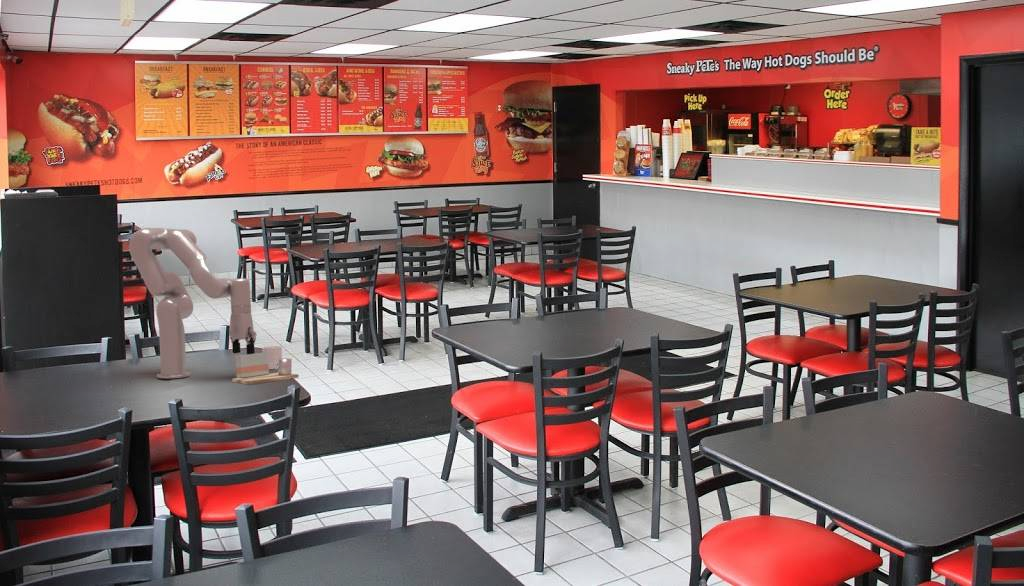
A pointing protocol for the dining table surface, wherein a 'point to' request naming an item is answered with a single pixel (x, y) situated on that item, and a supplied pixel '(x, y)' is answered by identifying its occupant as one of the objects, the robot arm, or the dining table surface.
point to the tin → (284, 366)
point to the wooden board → (264, 378)
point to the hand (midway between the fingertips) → (243, 353)
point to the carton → (251, 365)
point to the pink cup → (273, 355)
